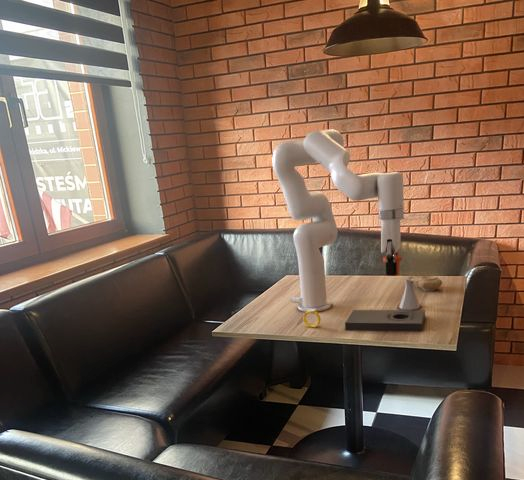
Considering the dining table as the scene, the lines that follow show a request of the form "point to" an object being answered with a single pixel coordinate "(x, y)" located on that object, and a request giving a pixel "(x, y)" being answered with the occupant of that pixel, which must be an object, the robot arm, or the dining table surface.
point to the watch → (315, 314)
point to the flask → (409, 297)
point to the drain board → (386, 320)
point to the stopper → (397, 259)
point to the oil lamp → (427, 282)
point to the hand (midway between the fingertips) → (392, 272)
